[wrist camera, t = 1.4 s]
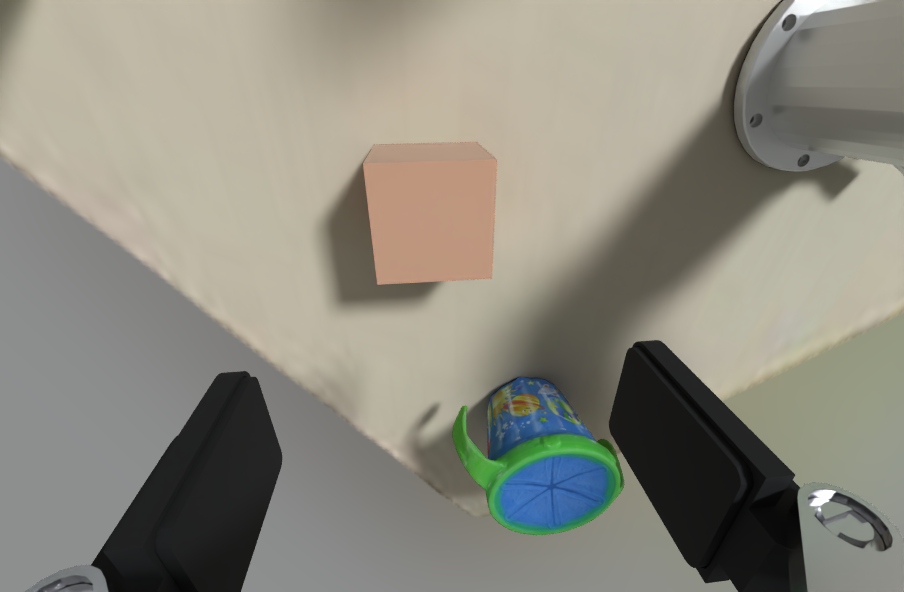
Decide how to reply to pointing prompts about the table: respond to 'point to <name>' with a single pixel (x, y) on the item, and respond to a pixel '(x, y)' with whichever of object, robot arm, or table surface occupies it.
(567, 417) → the snack cup
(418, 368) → the table surface
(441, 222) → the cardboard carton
